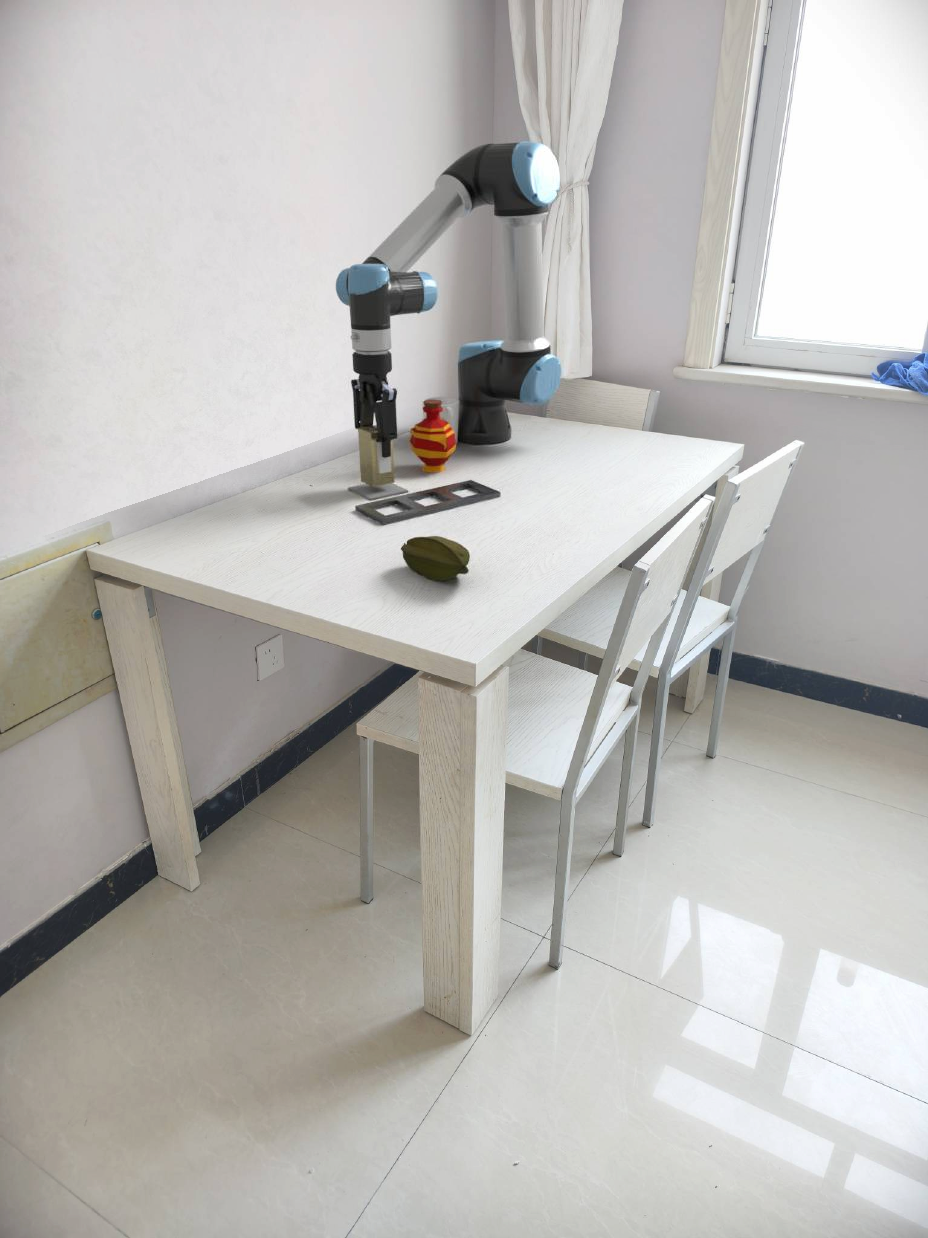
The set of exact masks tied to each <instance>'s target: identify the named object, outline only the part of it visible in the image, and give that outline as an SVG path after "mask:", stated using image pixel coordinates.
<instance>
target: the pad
mask: <svg viewBox="0 0 928 1238" xmlns="http://www.w3.org/2000/svg"><path fill="white" fill-rule="evenodd" d="M347 488H348V490H349V491H351V492H353V493H355V494H357V495H359V496H361V497H363V498H365V499H366V500H369V501H376V500H381V499H385V498H390V497H394V496H399V495H402V494H405V493H406V494H408V493H409V490H408V489H406V488H404V487H402V486H400V485H397V484H395V483H390V484H386V485H381V486H376V487H372V486H370V485H368V484H366V483H363V484H358V485H353V486H349V487H347Z"/></svg>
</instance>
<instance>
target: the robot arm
mask: <svg viewBox="0 0 928 1238" xmlns="http://www.w3.org/2000/svg"><path fill="white" fill-rule="evenodd" d="M558 164H559V163H558V161H557V158H556V157H555V155H554V153H552V151H551V149H550V148H549V147H548V146H547V145H546V144H543V143H541V142H533V141H519V142H517V141H516V142H506V143H505V142H503V143H485V144H482V145H478V146H476V147H474V148H472V149H469V150H468V151H466V153H464V154H463V155H461V156H460V157H459V158H458V159H456V160H455V161H453V163H451V164H450V165H449V166H447V167H446V169H445V170H444V171H443V172H441V174H440V175H439V176H438V177H437V178H436V180H435V182H434V189H432V191H430V193H429V194H428V195H427V196H426V197H425V198H424V199H423V200H422V201H421V202H420V203H419V204H418V206H416V207H415V208H414V209H413V210H412V211H411V212H410V213H409V214H408V216H406V218H405V219H403V221H402V222H401V223H400V224H399V225H398V226H397V227H396V228H395V229H394V230H393V231H392V232H391V233H390V234H389V235H388V236H387V237H386V238H385V239H384V240H383V241H382V242H381V243H380V244H379V245H378V246H377V248H375V250H374V251H373V252H372V253H371V254H370V255H369V256H368V257H367V258H366V259H365V260H363V262H362V263H357V264H353V265H351V266H350V267H347V268H344V269H342V270H341V271H340V272H339V274H338V275H337V277H336V281H335V291H336V294H337V297H338V299H339V300H340V301H341V303H342V304H344V305H345V306H349V315H350V328H351V329H350V330H351V335H350V339H351V347H352V348H351V349H352V350H353V353H352V357H351V358H352V369H353V370H352V371H353V372H354V373H356V374H359V375H358V378H354V379H351V380H350V384H351V389H352V397H353V416H354V417H353V418H354V419H353V420H354V429H355V430H358V428H362V427H368V426H373V425H374V420H375V423H376V424H375V425H377V431H378V436H379V439H376V442H377V461H378V473H380V474H381V473H386V472H391V440H393V441H394V440H396V439H397V438H398V425H397V424H398V422H397V396H398V395H397V394H398V389H397V388H395V387H393V388H391V387H390V386H389V380H388V377H387V375H388V373H391V372H392V370H393V361H392V359H393V357H392V356H393V355H392V353H391V351H390V350H391V349H392V331H391V317H393V316H399V315H400V316H401V315H402V316H403V315H409V314H410V315H411V314H418V315H419V314H421V313H425V312H428V311H430V310H431V309H434V306H435V305H436V303H437V300H438V297H439V296H438V293H439V292H438V286H437V281H436V280H435V278H434V277H433V275H432V274H430V273H428V272H427V271H417V270H413V271H411V272H409V270H410V269H411V268H412V267H413V266H414V265H415V264H416V263H417V262H418V261H419V260H420V259H421V257H423V256H424V255H425V253H426V252H428V250H429V249H430V248H431V247H432V246H433V245H434V244H435V243H436V242H437V241H438V239H439V238H440V237H441V236H442V235H444V234H445V232H446V231H447V230H448V229H449V228H450V227H451V226H452V225H453V224H454V223H455V221H457V220H458V218H464V217H467V216H468V215H469V214H470V213H471V212H472V211H473V210H474V209H476V208H478V207H482V206H486V205H489V206H493V216H494V218H495V219H496V220H497V221H498V223H500V225H501V237H502V238H501V240H502V263H503V264H502V265H503V267H502V268H503V285H504V286H503V288H504V289H503V291H504V310H505V311H504V316H505V339H504V340H502V339H499V340H486V341H485V340H484V341H477V342H476V341H475V342H469V343H465V344H463V345H461V346H460V347H459V349H458V359H457V360H458V361H457V379H458V380H457V382H458V384H457V385H458V388H457V389H458V391H457V392H458V400H459V418H458V440H457V442H461V443H467V444H475V445H477V444H478V445H487V444H488V445H489V444H498V443H504V442H506V441H508V440H510V439H512V432H513V431H512V425H511V423H510V419H509V415H508V412H507V407H506V401H511V402H515V403H520V404H523V405H527V406H528V405H532V406H533V405H534V406H541V405H544V404H546V403H547V402H549V401H550V400H551V398H552V397H554V395H555V392H556V391H557V390H558V387H559V385H560V382H561V379H562V364H561V361H560V360H559V358H558V357H557V356H555V355H554V354H552V353H551V350H552V349H551V342H550V341H549V339H547V338H546V337H545V334H544V333H545V332H544V330H545V329H544V328H545V327H544V285H543V284H544V283H543V280H544V279H543V278H544V277H543V236H542V235H543V231H542V230H543V229H542V226H543V225H542V224H543V221H544V219H545V218H546V216H548V214H549V205H551V204H552V203H553V202H554V201H555V200H556V198H557V192H559V190H560V186H561V185H560V184H561V181H560V180H561V176H560V168H559V165H558ZM374 418H375V419H374Z"/></svg>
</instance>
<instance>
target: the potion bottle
mask: <svg viewBox="0 0 928 1238" xmlns="http://www.w3.org/2000/svg"><path fill="white" fill-rule="evenodd" d="M422 401H423V400H422ZM423 402H424V405H425V407H423V406H422V412H423V411H424V412H425V413H426V418H425V419H423V418H422V419H421V421H420V422H417V423H416V424H414V426H413V427H412V428H410V430H409V433H410V435H411V436H410V438H409V440H408V442H409V445H410V449H411V450H412V453H414V455H415V456H417V457H418V458H419V460H420V461H421V462H422V463H423V464H424V465H423V467H422V468H421V470H422V471H423V472H424V473H425V472H427V473H442V472H444V471H445V470H446V468H445V466H444V464H446V463H447V462H448V461H449V460H450V457H451V456H452V455H453V453H454V452H455V451H456V448H457V444H456V439H455V434H454V433H455V432H454V431H453V429H452V428H451V427H450V424H449V423H448V422H447V421H445V420H444V419H442V418H441V419H442V420H441V419H440V417H439V413H440V412H442V411H443V408H442V407H441V404H442V401H441V400H435V399H433V400H425V401H423ZM443 420H444V421H445V422H444V421H443Z"/></svg>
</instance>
